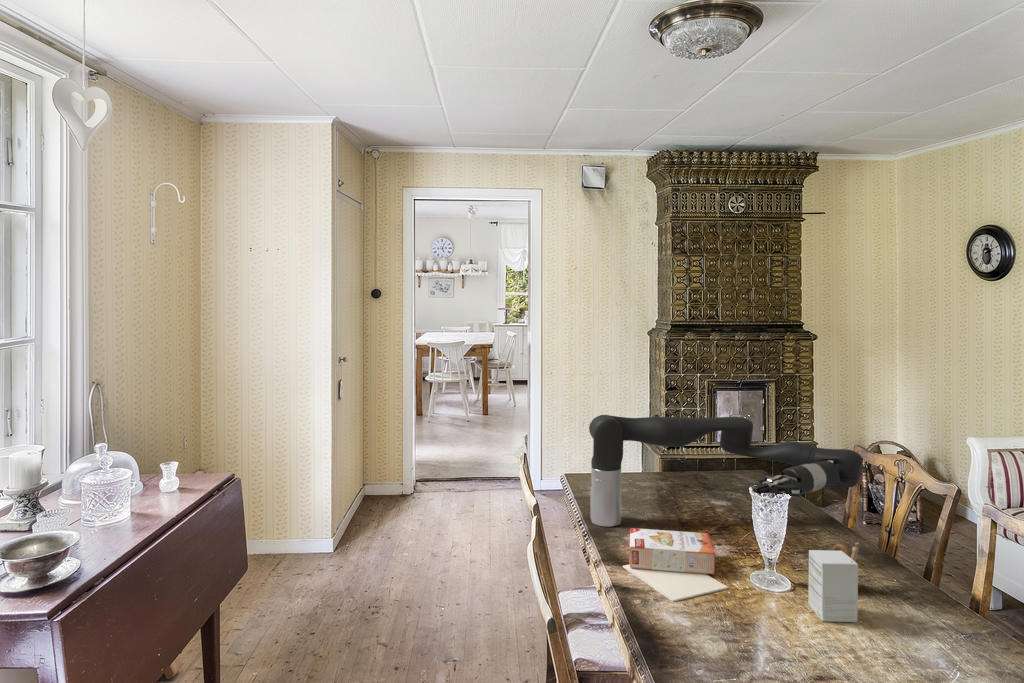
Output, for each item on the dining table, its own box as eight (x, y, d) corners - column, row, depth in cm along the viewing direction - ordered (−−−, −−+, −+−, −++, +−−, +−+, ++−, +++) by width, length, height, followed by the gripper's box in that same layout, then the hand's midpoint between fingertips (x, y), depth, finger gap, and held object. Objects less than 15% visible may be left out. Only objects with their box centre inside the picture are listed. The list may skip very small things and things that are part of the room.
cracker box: (715, 551, 144) (629, 546, 148) (715, 575, 144) (629, 569, 148) (708, 531, 157) (629, 526, 162) (708, 553, 158) (629, 548, 162)
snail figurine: (850, 596, 134) (851, 545, 133) (824, 585, 139) (824, 536, 139) (864, 591, 136) (865, 540, 136) (838, 580, 142) (839, 531, 141)
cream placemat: (622, 567, 150) (622, 565, 150) (673, 556, 156) (673, 555, 156) (672, 601, 132) (672, 600, 132) (727, 588, 138) (727, 586, 138)
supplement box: (841, 606, 130) (842, 549, 129) (858, 623, 122) (859, 564, 122) (807, 604, 130) (808, 548, 130) (821, 621, 123) (822, 562, 122)
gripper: (783, 459, 166) (735, 470, 159) (824, 472, 154) (774, 484, 147) (784, 485, 167) (736, 497, 160) (824, 499, 154) (774, 513, 148)
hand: (754, 491), depth 154 cm, fingers closed
